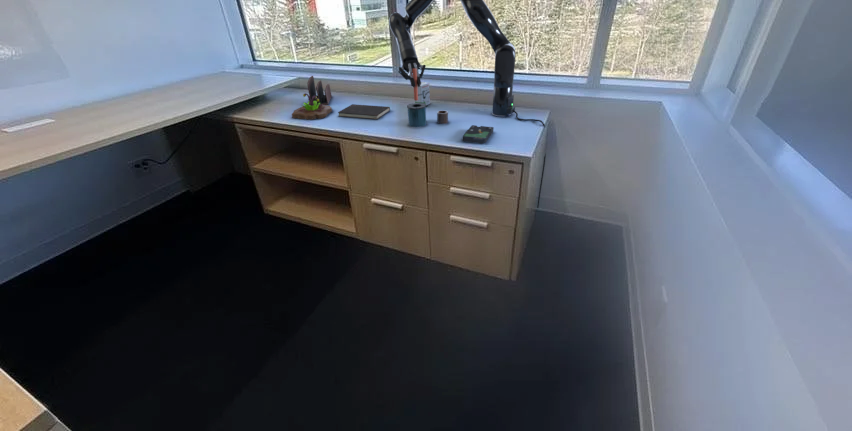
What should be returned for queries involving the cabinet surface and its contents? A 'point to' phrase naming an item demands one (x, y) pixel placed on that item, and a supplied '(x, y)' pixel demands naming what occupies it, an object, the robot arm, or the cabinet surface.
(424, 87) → the ink box
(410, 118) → the tumbler
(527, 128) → the cabinet surface
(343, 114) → the hardcover book
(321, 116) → the plant
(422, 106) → the tumbler lid
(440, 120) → the straw holder
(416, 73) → the straw
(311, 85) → the letter holder
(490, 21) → the robot arm
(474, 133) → the disk drive
